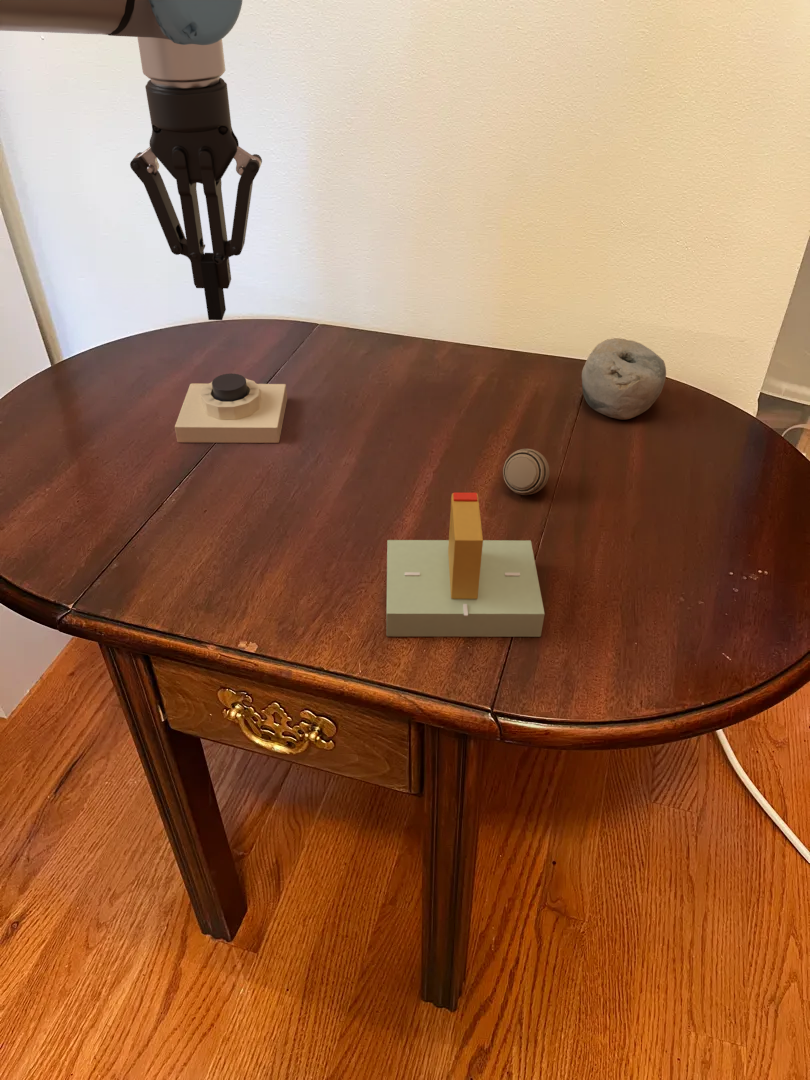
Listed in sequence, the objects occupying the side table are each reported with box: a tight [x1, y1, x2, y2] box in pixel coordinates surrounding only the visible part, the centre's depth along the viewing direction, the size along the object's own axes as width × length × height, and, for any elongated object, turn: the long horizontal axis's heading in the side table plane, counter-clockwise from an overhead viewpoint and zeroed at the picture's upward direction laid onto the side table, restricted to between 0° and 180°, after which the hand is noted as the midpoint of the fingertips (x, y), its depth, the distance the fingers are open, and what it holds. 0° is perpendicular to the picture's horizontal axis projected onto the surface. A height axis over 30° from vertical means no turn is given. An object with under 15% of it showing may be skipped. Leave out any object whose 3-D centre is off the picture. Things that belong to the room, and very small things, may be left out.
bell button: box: [211, 372, 248, 402], centre depth 100 cm, size 4×4×2 cm
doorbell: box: [174, 377, 288, 444], centre depth 101 cm, size 12×10×4 cm
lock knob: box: [448, 492, 484, 599], centre depth 75 cm, size 6×2×7 cm, turn 0°
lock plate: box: [385, 539, 546, 638], centre depth 79 cm, size 14×11×3 cm
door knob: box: [502, 448, 550, 496], centre depth 91 cm, size 5×5×5 cm
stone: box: [581, 337, 667, 420], centre depth 104 cm, size 10×10×10 cm
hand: (217, 314), depth 94 cm, fingers closed
